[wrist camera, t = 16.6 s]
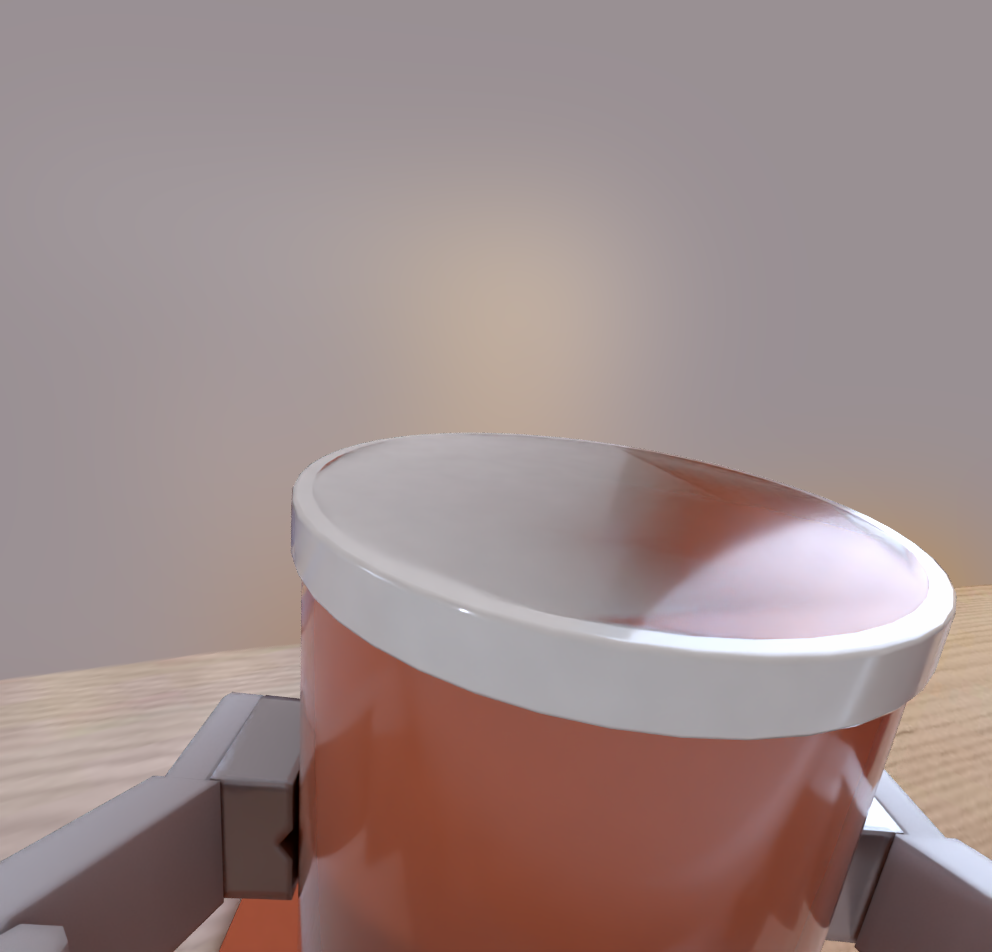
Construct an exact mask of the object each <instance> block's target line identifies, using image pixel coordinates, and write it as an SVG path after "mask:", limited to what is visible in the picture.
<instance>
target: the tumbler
mask: <svg viewBox="0 0 992 952" xmlns="http://www.w3.org/2000/svg"><path fill="white" fill-rule="evenodd" d="M291 518H292V519H291V554H292V557H293V560H294V563H295V566H296V570H297V572H298V575H299V577H300V578H301V580H302V600H301V603H302V604H301V607H302V608H301V683H300V766H299V850H298V933H297V952H821V950H822V948H823V945H824V942H825V939H826V936H827V933H828V930H829V927H830V924H831V921H832V918H833V916H834V913H835V910H836V907H837V904H838V901H839V898H840V895H841V892H842V889H843V886H844V884H845V881H846V878H847V875H848V872H849V869H850V866H851V863H852V860H853V857H854V855H855V852H856V849H857V846H858V843H859V840H860V837H861V834H862V831H863V828H864V825H865V823H866V820H867V817H868V814H869V811H870V808H871V805H872V802H873V799H874V796H875V793H876V791H877V788H878V785H879V782H880V779H881V776H882V773H883V770H884V767H885V764H886V761H887V759H888V756H889V753H890V750H891V747H892V744H893V741H894V738H895V735H896V732H897V729H898V727H899V724H900V721H901V718H902V715H903V712H904V709H905V706H906V703H907V702H908V701H909V700H911V699H912V698H913V697H915V696H916V695H917V694H919V693H920V692H921V691H923V689H924V688H925V686H926V685H927V683H928V682H929V680H930V678H931V677H932V675H933V674H934V672H935V671H936V668H937V665H938V662H939V659H940V656H941V654H942V651H943V648H944V645H945V642H946V639H947V637H948V634H949V631H950V628H951V625H952V622H953V620H954V617H955V614H956V599H957V596H956V592H955V590H954V587H953V585H952V583H951V580H950V578H949V576H948V575H947V573H946V572H945V571H944V570H943V569H942V568H941V566H940V565H939V564H938V563H937V562H936V561H935V560H934V559H933V558H932V557H931V556H930V555H928V554H927V553H926V552H925V551H923V550H922V549H921V548H920V547H919V546H917V545H916V544H914V543H913V542H911V541H910V540H908V539H907V538H905V537H903V536H902V535H900V534H899V533H897V532H896V531H894V530H892V529H890V528H888V527H887V526H885V525H883V524H881V523H879V522H877V521H875V520H873V519H872V518H870V517H868V516H866V515H863V514H861V513H859V512H857V511H855V510H853V509H850V508H848V507H846V506H844V505H841V504H839V503H836V502H834V501H831V500H829V499H826V498H824V497H821V496H819V495H816V494H813V493H810V492H807V491H805V490H802V489H799V488H796V487H794V486H790V485H787V484H784V483H781V482H778V481H775V480H772V479H769V478H765V477H762V476H758V475H755V474H751V473H748V472H744V471H741V470H737V469H733V468H729V467H725V466H721V465H718V464H713V463H709V462H705V461H701V460H696V459H692V458H687V457H682V456H678V455H672V454H668V453H663V452H657V451H652V450H646V449H641V448H635V447H628V446H622V445H616V444H609V443H602V442H595V441H587V440H579V439H570V438H561V437H549V436H538V435H523V434H502V433H440V434H422V435H412V436H401V437H394V438H387V439H380V440H376V441H371V442H366V443H361V444H357V445H354V446H351V447H347V448H344V449H341V450H338V451H335V452H333V453H330V454H328V455H325V456H323V457H322V458H320V459H318V460H317V461H315V462H313V463H311V464H310V465H309V466H308V467H307V468H306V469H305V470H304V471H302V472H301V473H300V475H299V477H298V478H297V480H296V482H295V484H294V486H293V488H292V503H291Z"/></svg>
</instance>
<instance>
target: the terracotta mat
mask: <svg viewBox="0 0 992 952" xmlns="http://www.w3.org/2000/svg"><path fill="white" fill-rule="evenodd" d="M297 933H298V884H297V887H296V890H295V892H294V895H293V898H292V900H269V899H243V898H242V900H241V902H240V904H239V907H238V909H237V911H236V914H235V916H234V918H233V920H232V923H231V925H230V927H229V929H228V932H227V934H226V936H225V939H224V941H223V943H222V945H221V948H220V950H219V952H297Z"/></svg>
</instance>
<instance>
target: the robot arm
mask: <svg viewBox="0 0 992 952" xmlns="http://www.w3.org/2000/svg"><path fill="white" fill-rule="evenodd" d="M299 766H300V699H297V698H288V697H279V696H269V695H266V696H263V695H256V694H246V693H235V692H232V693H230V694H228V695H226V696H225V697H223V698H222V700H221V701H220V702H219V704H218V705H217V706H216V708H215V709H214V711H213V712H212V713H211V715H210V716H209V717H208V719H207V720H206V721H205V723H204V724H203V725H202V727H201V728H200V729H199V731H198V732H197V733H196V735H195V736H194V738H193V739H192V740H191V742H190V743H189V744H188V746H187V747H186V748H185V750H184V751H183V752H182V754H181V755H180V756H179V758H178V759H177V760H176V762H175V763H174V765H173V766H172V767H171V769H170V770H169V771H168V773H167V774H166V775H165V777H164V776H152V777H150V778H149V779H147V780H145V781H143V782H141V783H140V784H138V785H136V786H134V787H133V788H131V789H129V790H127V791H125V792H124V793H122V794H120V795H118V796H117V797H115V798H113V799H111V800H109V801H108V802H106V803H104V804H102V805H101V806H99V807H97V808H95V809H93V810H92V811H90V812H88V813H86V814H84V815H83V816H81V817H79V818H77V819H76V820H74V821H72V822H70V823H68V824H67V825H65V826H63V827H61V828H60V829H58V830H56V831H54V832H52V833H51V834H49V835H47V836H45V837H44V838H42V839H40V840H38V841H36V842H35V843H33V844H31V845H29V846H28V847H26V848H24V849H22V850H20V851H19V852H17V853H15V854H13V855H12V856H10V857H8V858H6V859H4V860H3V861H1V862H0V952H173V951H174V950H175V949H176V948H178V947H179V946H180V945H181V944H182V943H183V942H184V941H185V940H186V939H187V938H188V937H189V936H190V935H191V934H192V933H193V932H194V931H195V930H196V929H197V928H198V927H199V926H200V925H201V924H202V923H203V922H204V921H205V920H206V919H207V918H208V917H209V916H210V915H211V914H212V913H213V912H214V911H215V910H216V909H217V908H218V907H220V906H221V905H222V904H223V903H224V898H243V899H269V900H292V898H293V895H294V892H295V890H296V887H297V884H298V850H299ZM825 940H830V941H840V942H850V943H856V944H855V948H856V949H857V950H858V951H859V952H992V860H990V859H988V858H987V857H985V856H984V855H982V854H980V853H979V852H977V851H976V850H974V849H972V848H971V847H969V846H968V845H966V844H964V843H963V842H961V841H959V840H958V839H953V838H945V837H944V835H943V834H942V833H941V832H940V831H939V830H938V829H937V828H936V827H935V825H934V824H933V823H932V822H931V821H930V820H929V819H928V818H927V817H926V815H925V814H924V813H923V812H922V811H921V810H920V809H919V808H918V807H917V805H916V804H915V803H914V802H913V801H912V800H911V799H910V798H909V796H908V795H907V794H906V793H905V792H904V791H903V790H902V789H901V788H900V786H899V785H898V784H897V783H896V782H895V781H894V780H893V779H892V778H891V776H890V775H889V774H888V773H887V772H886V771H885V770H883V773H882V776H881V779H880V782H879V785H878V788H877V791H876V793H875V796H874V799H873V802H872V805H871V808H870V811H869V814H868V817H867V820H866V823H865V825H864V828H863V831H862V834H861V837H860V840H859V843H858V846H857V849H856V852H855V855H854V857H853V860H852V863H851V866H850V869H849V872H848V875H847V878H846V881H845V884H844V886H843V889H842V892H841V895H840V898H839V901H838V904H837V907H836V910H835V913H834V916H833V918H832V921H831V924H830V927H829V930H828V933H827V936H826V939H825Z"/></svg>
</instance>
